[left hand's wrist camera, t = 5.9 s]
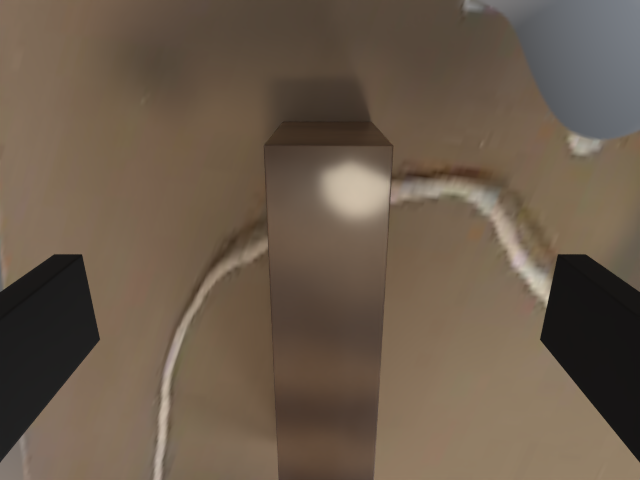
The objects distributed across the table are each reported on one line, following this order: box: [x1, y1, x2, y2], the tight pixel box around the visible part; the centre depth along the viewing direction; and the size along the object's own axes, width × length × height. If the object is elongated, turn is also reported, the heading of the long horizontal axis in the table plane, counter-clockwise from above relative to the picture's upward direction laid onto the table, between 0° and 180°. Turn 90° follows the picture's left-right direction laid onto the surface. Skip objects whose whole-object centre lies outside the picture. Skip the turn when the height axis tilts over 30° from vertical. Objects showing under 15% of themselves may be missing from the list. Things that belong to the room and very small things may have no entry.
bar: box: [264, 122, 393, 480], centre depth 29 cm, size 27×6×10 cm, turn 0°
